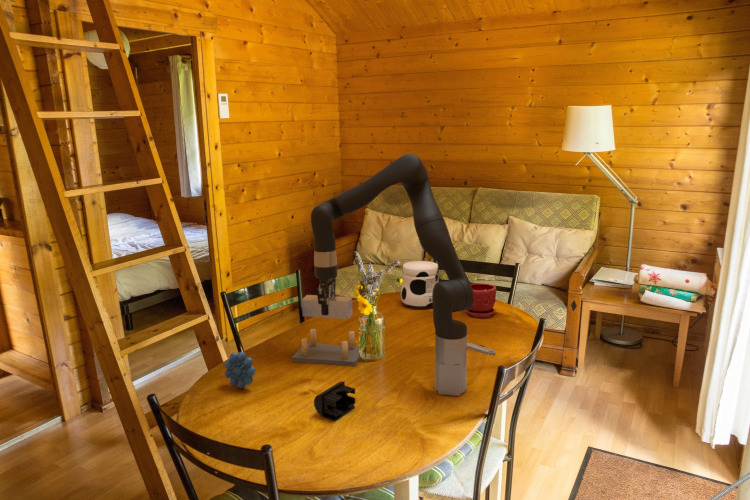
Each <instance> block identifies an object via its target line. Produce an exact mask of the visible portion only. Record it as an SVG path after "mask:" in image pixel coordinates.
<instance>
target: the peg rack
mask: <svg viewBox="0 0 750 500" xmlns="http://www.w3.org/2000/svg"><path fill="white" fill-rule="evenodd" d="M309 333H310V336H309V337H310V342H308V338H307V337H303V338H300V339H301V347H300V348H299V349H298V350H297V351H296V352H295V354H293V356H292V357H291V362H294V363H307V364H318V365H320V364H321V365H333V366H335V365H336V366H349V367H356V366H357V365H358V362H359V361H360V359H361V358H360V353H359V347H360V346H357V345H356V344H355V340H356V339H355V331H354V330H353V331H352V330H350V331H348V340H342V341H341V345H339V344H327V343H326V344H325V343H317V329H316V328H311V329H310V330H309ZM355 345H356V346H355Z"/></svg>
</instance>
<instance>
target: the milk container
mask: <svg viewBox="0 0 750 500" xmlns="http://www.w3.org/2000/svg"><path fill="white" fill-rule="evenodd" d="M438 265H439V264H437V262H433V261H429V260H413V261H407V262H405V263H403V265H402V286H401V290H400V299H401V301H402V304H403V305H406V306H408V307H411V308H419V309H421V308H424V309H425V308H431V307H433V302H432V293H433V288H434V286H435V284H436V283H438V282H439V266H438Z"/></svg>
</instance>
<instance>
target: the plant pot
mask: <svg viewBox="0 0 750 500" xmlns="http://www.w3.org/2000/svg"><path fill="white" fill-rule="evenodd" d="M470 284H471V286H472V289H473V293H474V304H473V306H472V307H471V308H470V309H468V310H465V313H466V314H467V315H469V316H471V317H475V318H488V317H489V318H490V317H491V316H492V315H494V314H495V312H496V311H495V309H494V306H495V303H496V296H497V286H495V285H494V284H490V283H485V282H484V283H479V282H478V283H470Z"/></svg>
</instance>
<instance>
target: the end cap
mask: <svg viewBox="0 0 750 500" xmlns="http://www.w3.org/2000/svg"><path fill="white" fill-rule="evenodd" d="M348 394H352V395H353V394H354V395H355V394H356V388H355V387H351V386H348V385H346V383H345V381H338V382H337V383H336V384H333V385H332V386H330V387H329V388H327V389H325V390H324V391H322V392H320V393H318V394H317V395H316V396H315V397H314V399H313V405H314V409H315V411H316V412H317V413H318V415H320V416H322V417H323V418H324V419H328V420H329V421H333V422H337V421H339V419H341V418H343V417H344V416H345V415H347V414H349V413H350V412H352V411H353V410H354V409H355V408H356V407H355V404H356V397H354V396H351V395H348Z"/></svg>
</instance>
